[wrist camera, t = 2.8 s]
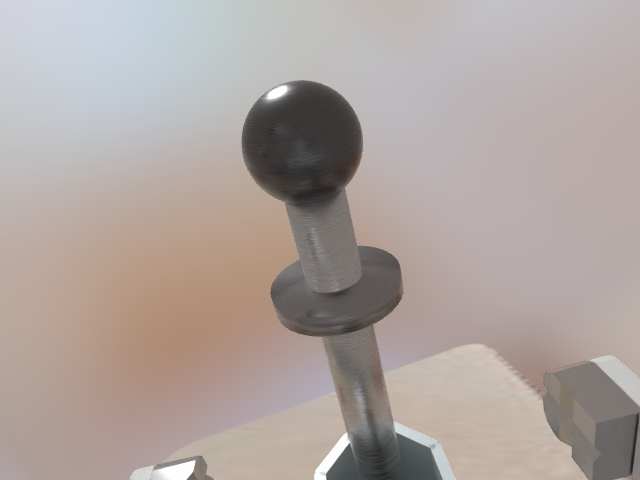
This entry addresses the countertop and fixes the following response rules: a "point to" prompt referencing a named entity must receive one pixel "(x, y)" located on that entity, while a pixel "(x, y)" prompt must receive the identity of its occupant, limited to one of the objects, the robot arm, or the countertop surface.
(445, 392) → the countertop surface
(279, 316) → the plunger
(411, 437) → the grey faceted holder
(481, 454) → the countertop surface
